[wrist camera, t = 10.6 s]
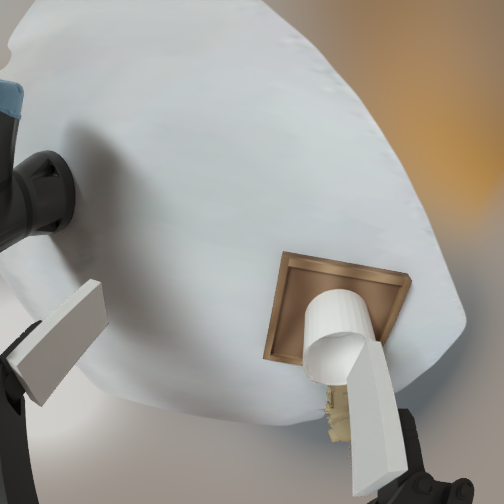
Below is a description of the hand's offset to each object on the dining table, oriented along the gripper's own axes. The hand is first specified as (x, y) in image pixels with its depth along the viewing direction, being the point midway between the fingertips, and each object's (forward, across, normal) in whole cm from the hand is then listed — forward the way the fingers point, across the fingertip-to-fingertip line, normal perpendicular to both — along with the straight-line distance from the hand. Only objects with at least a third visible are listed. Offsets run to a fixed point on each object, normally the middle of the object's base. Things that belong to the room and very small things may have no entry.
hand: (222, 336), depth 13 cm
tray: (+24, +12, -15) cm, 31 cm away
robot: (+24, +19, -30) cm, 43 cm away
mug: (+23, +11, -15) cm, 30 cm away
